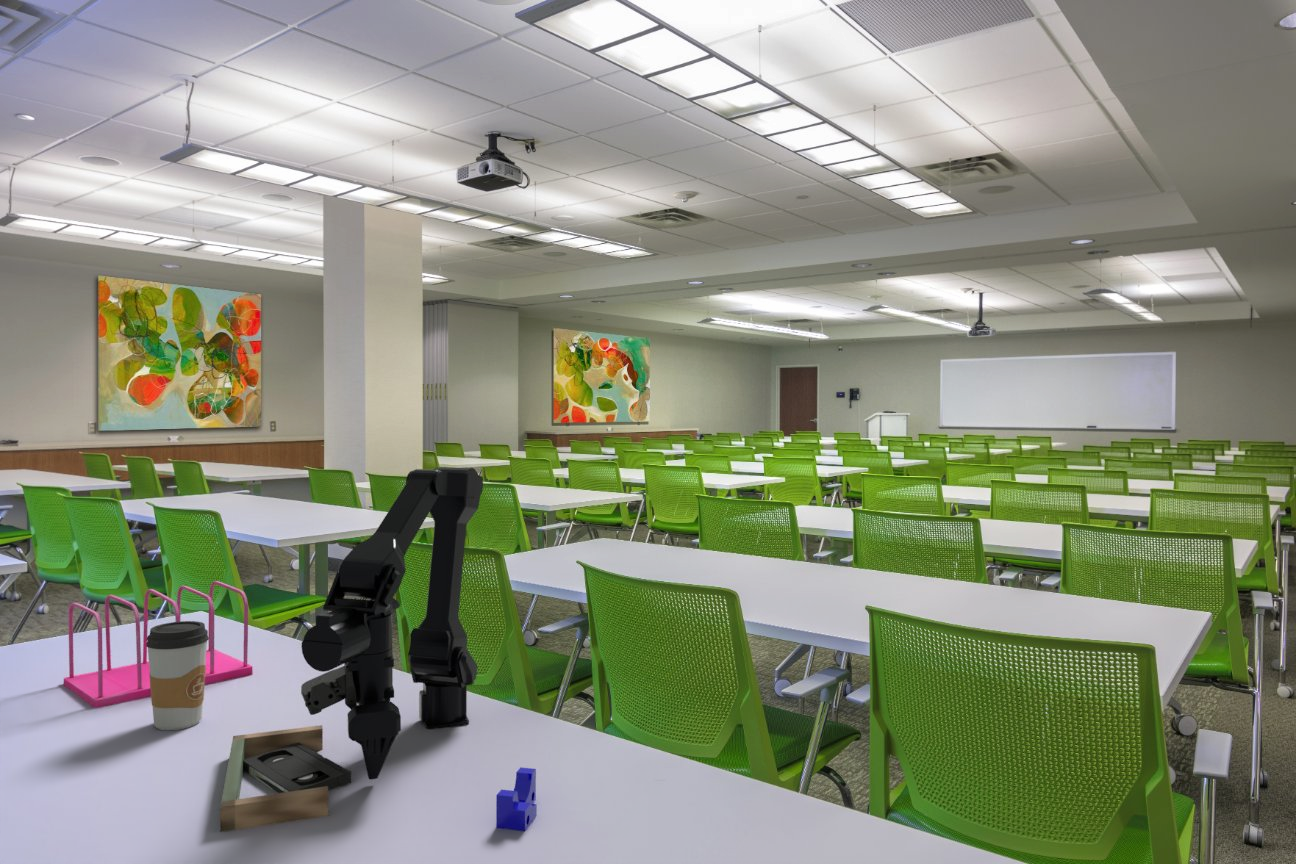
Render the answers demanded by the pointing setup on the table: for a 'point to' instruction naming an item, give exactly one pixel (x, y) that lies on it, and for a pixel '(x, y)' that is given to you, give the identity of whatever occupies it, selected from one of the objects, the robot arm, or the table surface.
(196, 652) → the coffee cup
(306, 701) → the robot arm
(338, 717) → the table surface
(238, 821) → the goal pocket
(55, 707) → the table surface
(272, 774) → the vhs tape
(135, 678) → the file sorter
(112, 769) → the table surface
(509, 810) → the cable holder
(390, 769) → the table surface
